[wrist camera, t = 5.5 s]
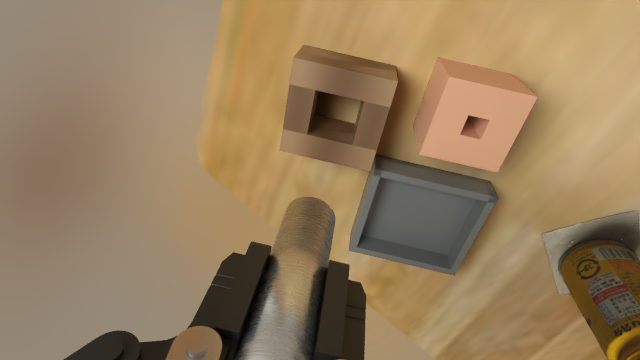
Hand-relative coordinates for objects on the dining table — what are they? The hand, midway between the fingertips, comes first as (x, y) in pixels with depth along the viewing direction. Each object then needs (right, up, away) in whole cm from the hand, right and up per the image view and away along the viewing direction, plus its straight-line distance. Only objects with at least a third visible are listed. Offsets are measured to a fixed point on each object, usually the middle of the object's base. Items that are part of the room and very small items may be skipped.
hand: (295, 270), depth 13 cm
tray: (+10, +1, +20) cm, 23 cm away
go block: (+2, +10, +16) cm, 19 cm away
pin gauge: (0, +2, +3) cm, 3 cm away
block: (+12, +9, +15) cm, 21 cm away
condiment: (+26, -4, +21) cm, 33 cm away
